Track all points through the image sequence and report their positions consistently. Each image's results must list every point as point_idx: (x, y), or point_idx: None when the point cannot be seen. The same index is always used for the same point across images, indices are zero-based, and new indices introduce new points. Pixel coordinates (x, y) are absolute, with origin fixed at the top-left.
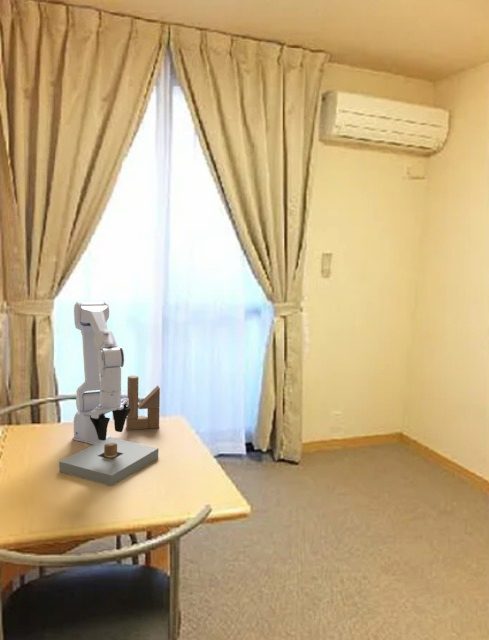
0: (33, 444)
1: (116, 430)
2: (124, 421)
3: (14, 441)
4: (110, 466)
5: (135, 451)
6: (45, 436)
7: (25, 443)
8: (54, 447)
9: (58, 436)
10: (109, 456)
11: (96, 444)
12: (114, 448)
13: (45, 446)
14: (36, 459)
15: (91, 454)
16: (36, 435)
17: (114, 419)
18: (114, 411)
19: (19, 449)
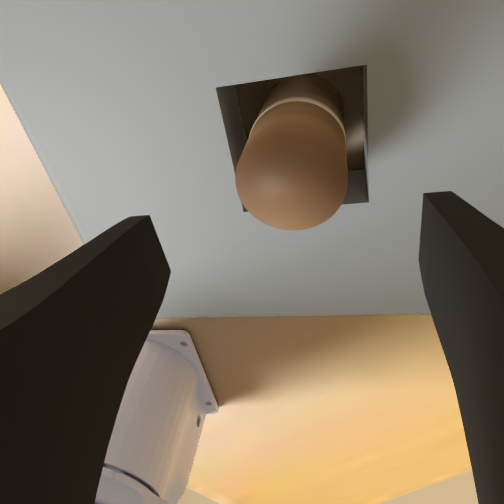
0: (337, 459)
1: (164, 266)
2: (50, 274)
3: (354, 495)
4: None
5: (120, 37)
6: (262, 463)
7: (346, 474)
8: (313, 411)
9: (233, 442)
10: (339, 122)
11: (239, 308)
12: (302, 122)
13: (326, 432)
14: (449, 400)
15: (371, 244)
16: (276, 479)
17: (126, 375)
18: (78, 478)
19: (399, 466)
